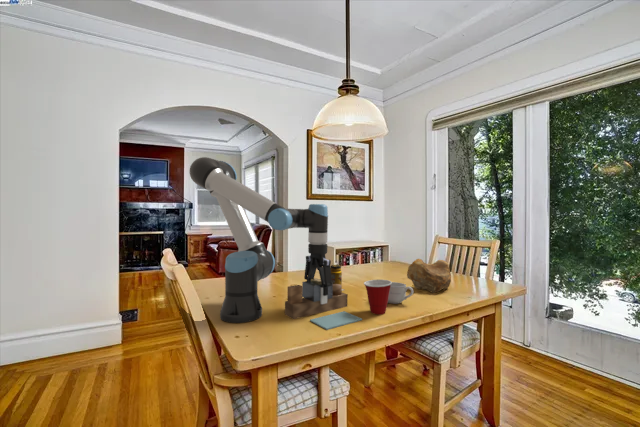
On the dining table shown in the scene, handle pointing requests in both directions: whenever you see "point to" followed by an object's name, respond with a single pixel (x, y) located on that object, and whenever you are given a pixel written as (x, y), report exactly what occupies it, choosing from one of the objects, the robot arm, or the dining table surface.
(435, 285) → the rough brown rock
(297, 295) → the plane body
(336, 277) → the condiment
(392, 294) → the teacup
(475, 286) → the dining table surface
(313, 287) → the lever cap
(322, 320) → the rubber mat
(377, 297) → the plastic cup
